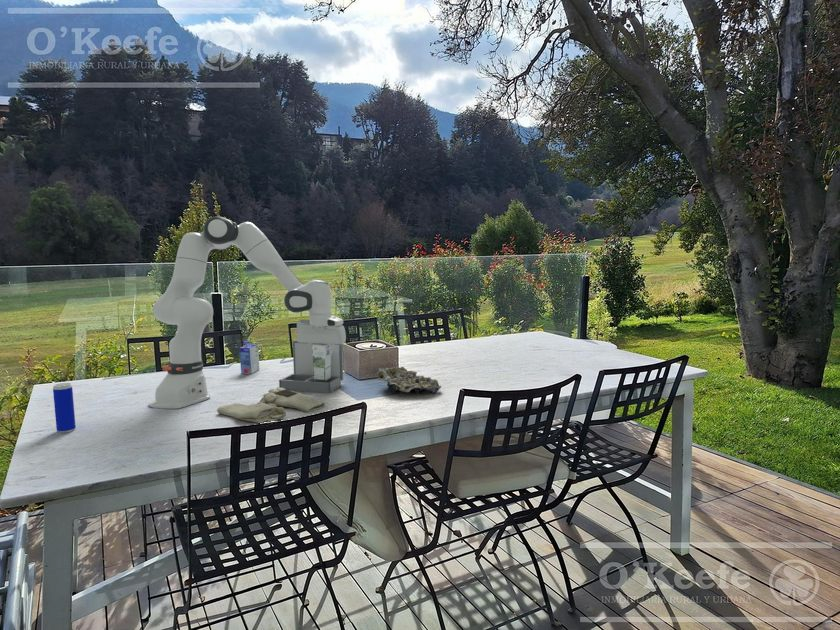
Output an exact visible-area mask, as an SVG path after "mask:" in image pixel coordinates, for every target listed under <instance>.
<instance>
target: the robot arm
mask: <svg viewBox="0 0 840 630" xmlns="http://www.w3.org/2000/svg"><path fill="white" fill-rule="evenodd" d="M202 229H203V230H202V231H201V232H196V231H195V232H187V233H185V234H184V235H183V236H182V238H181V240H180V243H179V246H178V248H177V253H176V257H175V264H174V268H173V271H172V272H173V273H172V277H171V280H170V282H169V285H168V287H166V290H165V292H164V293H163V294H162V295H161V296H160V297H159V298H158V299H157V300H156V301H155V302H154V303H153V307H152V312H153V315H154V316H153V317H154V318H155V319H156V320H157V321H159V322H162V323H164V324H166V325H172V326H173V325H175V326H177V329H176V334H175V335H174V337H173V338H171V340H170V341H169V343H168V347H169V348H168V349H169V363H168V365H163V366H162V371H163V372H167V374H166V375H165V377H164V378H163V379H162V381H161V382H160V383H159V384H158V386H157V387H156V389H155V395H154V397H155V398H154V399H153V400H151V401H150V402H148V407H151V408H156V409H166V410H167V409H170V410H171V409H182V408H184V407H187V406H191V405H193V404H194V405H195V404H197V403H199V402H203V401H207V400H209V399H211V396H210V394H209V392H208V387H207V386H208V385H207V380H206V377H205V375H204V371H203V369H204V362H203V359H202V346H201V345H202V335H203V333H204V330H205V328H206V326H207V325H208V324H209V323H210V322H212V319H213V316H214V307H213V305H212V303H211V302H209V301H208V300H206V299H204V298H199V297H195V296H193V295H194V294H195V292H196V291H197V290H198V289H199V288H200V287H201V286H203V284H204V282H205V276H206V271H207V265H208V258H209V255H210V252H223V251H226V250H229V249H230V248H231V247H232V246H235V247H237V248H238V249H240V251H241V252H242V253H243V255H244V257H246V259H247V261H249V262H250V263H251V264H252V265H253V266H254V267H255V268H256V269H258V270H261V271H264V272H266V273H269V274H271V275H273V276H274V277H276V279H277V280H278V282H280V283H281V284H282V286H283V287H284V289H286V290H287V293H286V294H285V296H284V302H283V303H284V305H285V307H286V309H287V310H288V311H289V312H292V313H302V312H308V315H309V316H308V318H309V319H300V320H298V321H297V323H296V340H297V341H298V342H299V343H308V346H309V348H310V350H311V354H313V346H312V345H313V343H322V344H329V346H330V349H329V350H327V355H331V354H332V350H333V348H334V346H335V344H345V343H346V340H347V337H346V336H347V334H346V329H345V326H344V325H343V324H344V319H342V318H340V317H337V316H334V315H332V310H331V304H332V293H331V287H330V284H329V283H328V282H327V281H326V280H325V281H324V280H321V279H311V280H309V281H308V282H307V283H305V284H304V283H303V282H302V281H301V280H300V279H299V278H298V277H297V276H296V274H294V272H293V271H292V270H291V269H290V268H289V266H287V264H286V263H285V262H284V260H283V259H282V257H281V256H280V254H279V252H278V250H276V248H275V247H274V245H273V244H272V242H271V241H270V240H269V239H268V237H267V236H266V235H265V233H264V232H263V231H261V229H260V228H258V227H257V226H256V225H255V224H254V223H253V222H251V221H244V222H242V223H240V224H237V223H236V222H234V221H232V220H230V219H227V218H226V217H223V216H216V215H215V216H212V217H209V218H207V220H206V221H205V223H204V225H203V228H202Z"/></svg>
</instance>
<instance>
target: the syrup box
mask: <svg viewBox="0 0 840 630" xmlns="http://www.w3.org/2000/svg"><path fill="white" fill-rule="evenodd" d="M329 349H330V346H329V344H322V343H315V344H314V345H313V380H324V381H326V380H328V379H329V378H331V355H327V350H329Z"/></svg>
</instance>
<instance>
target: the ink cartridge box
mask: <svg viewBox="0 0 840 630" xmlns="http://www.w3.org/2000/svg"><path fill="white" fill-rule="evenodd" d="M243 342H244V343H243V344H244V345H243V346H240V347H239V361H240V363H239V364H240V372H241V373H240V374H242V375H244V374H245V375H252V374H254V373H255V372H257V371H259V370H260V357H259V356H260V354H259V353H260V352H259V343H249V341H248V339H247V340H244V341H243Z"/></svg>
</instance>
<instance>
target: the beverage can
mask: <svg viewBox="0 0 840 630" xmlns="http://www.w3.org/2000/svg"><path fill="white" fill-rule="evenodd" d="M52 394H53V404H54V417H55V426H56V427H55V428H56V431H57V432H58V433H61V434H62V433H70V432H73V431H75V430H76V416H75V405H74V392H73V385H72V383H70V382H62V383H56V384H54V385H53V388H52Z"/></svg>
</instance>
